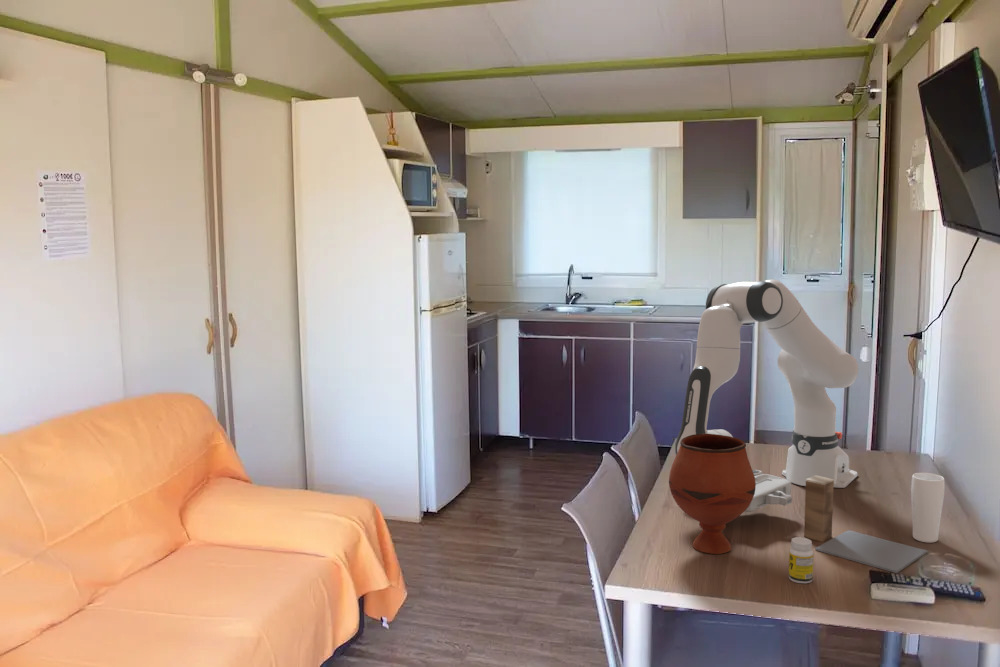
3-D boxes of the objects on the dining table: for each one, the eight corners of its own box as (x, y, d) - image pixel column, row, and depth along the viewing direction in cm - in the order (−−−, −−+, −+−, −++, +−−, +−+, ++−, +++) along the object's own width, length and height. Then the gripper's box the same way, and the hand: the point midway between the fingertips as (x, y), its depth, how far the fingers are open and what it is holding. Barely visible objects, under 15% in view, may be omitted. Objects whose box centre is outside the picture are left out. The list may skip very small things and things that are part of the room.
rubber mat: (848, 532, 201) (848, 530, 201) (927, 552, 187) (927, 550, 187) (815, 550, 190) (815, 547, 190) (896, 573, 177) (896, 571, 177)
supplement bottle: (788, 573, 178) (789, 535, 176) (811, 575, 176) (813, 537, 175) (788, 582, 173) (790, 543, 172) (813, 585, 172) (814, 545, 171)
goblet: (679, 527, 206) (680, 427, 202) (760, 538, 197) (763, 435, 194) (659, 555, 188) (659, 446, 185) (747, 569, 180) (749, 455, 177)
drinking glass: (948, 543, 193) (951, 480, 191) (921, 545, 191) (924, 481, 190) (928, 533, 199) (931, 471, 197) (902, 535, 198) (905, 473, 196)
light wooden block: (813, 532, 201) (815, 475, 199) (831, 537, 198) (833, 479, 196) (804, 536, 198) (805, 479, 196) (822, 541, 195) (824, 483, 193)
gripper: (715, 485, 205) (766, 498, 195) (760, 468, 219) (810, 479, 209) (715, 510, 206) (765, 524, 196) (760, 491, 220) (809, 504, 209)
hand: (789, 501), depth 202 cm, fingers closed
